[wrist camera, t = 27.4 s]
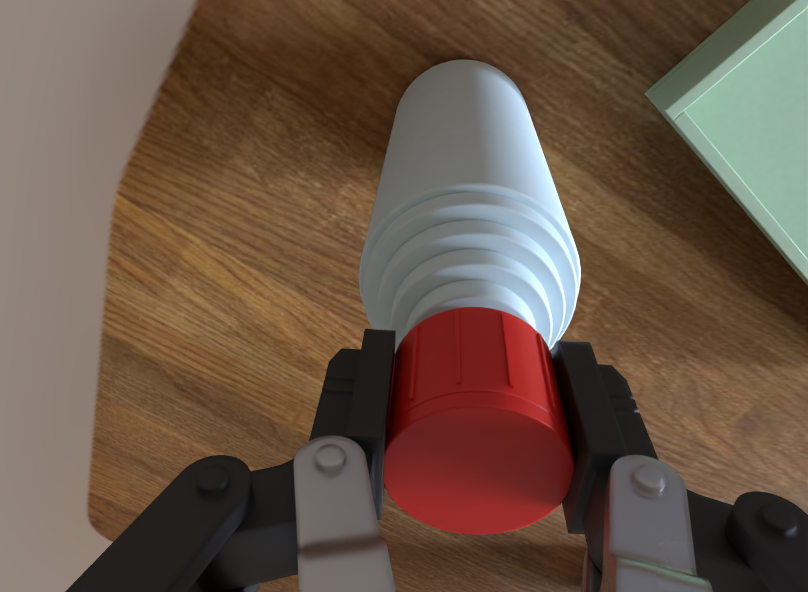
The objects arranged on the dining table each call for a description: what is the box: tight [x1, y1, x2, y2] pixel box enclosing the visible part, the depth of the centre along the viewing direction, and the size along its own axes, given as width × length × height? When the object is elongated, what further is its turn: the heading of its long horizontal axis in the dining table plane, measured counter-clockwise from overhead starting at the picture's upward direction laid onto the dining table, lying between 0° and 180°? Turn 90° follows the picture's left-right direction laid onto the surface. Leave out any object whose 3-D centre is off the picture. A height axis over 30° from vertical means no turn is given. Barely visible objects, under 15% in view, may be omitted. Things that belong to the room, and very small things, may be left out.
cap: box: [384, 307, 575, 535], centre depth 13 cm, size 4×4×3 cm
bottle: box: [359, 60, 581, 353], centre depth 21 cm, size 6×6×20 cm
